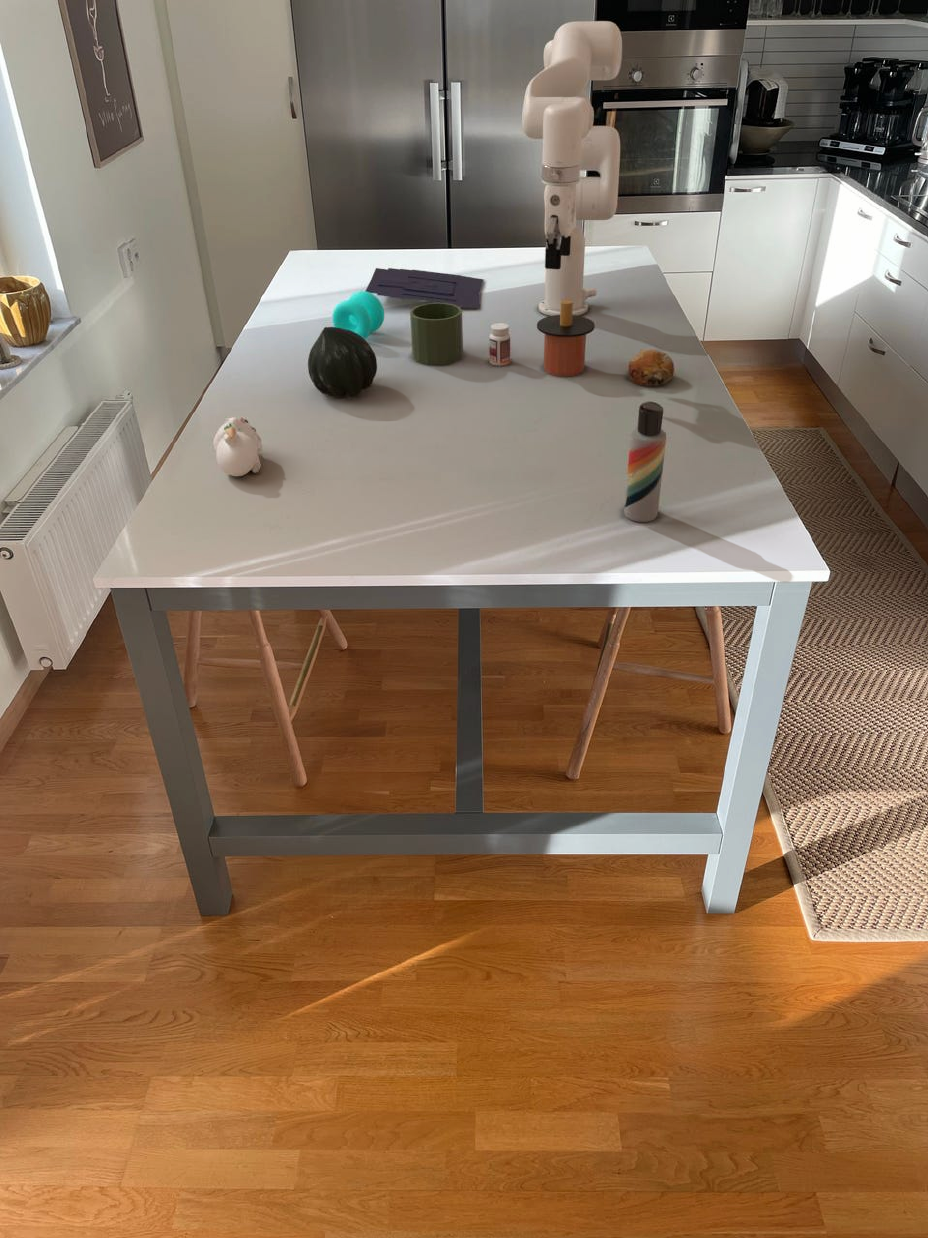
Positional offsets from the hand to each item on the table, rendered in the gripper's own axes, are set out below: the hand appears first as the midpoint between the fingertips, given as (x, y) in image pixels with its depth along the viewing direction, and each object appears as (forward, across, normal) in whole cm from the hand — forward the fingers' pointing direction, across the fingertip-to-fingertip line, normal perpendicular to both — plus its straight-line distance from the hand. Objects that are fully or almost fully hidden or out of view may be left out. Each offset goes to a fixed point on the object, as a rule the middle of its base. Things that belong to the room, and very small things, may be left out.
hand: (557, 261), depth 201 cm
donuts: (+24, +8, +50) cm, 56 cm away
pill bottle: (+24, +1, +13) cm, 27 cm away
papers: (+23, +42, +44) cm, 65 cm away
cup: (+23, 0, -2) cm, 23 cm away
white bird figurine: (+24, -60, +48) cm, 80 cm away
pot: (+23, +1, +28) cm, 36 cm away
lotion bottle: (+24, -59, -28) cm, 70 cm away
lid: (+14, 0, -2) cm, 14 cm away
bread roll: (+24, -1, -22) cm, 32 cm away
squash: (+24, -23, +41) cm, 53 cm away
